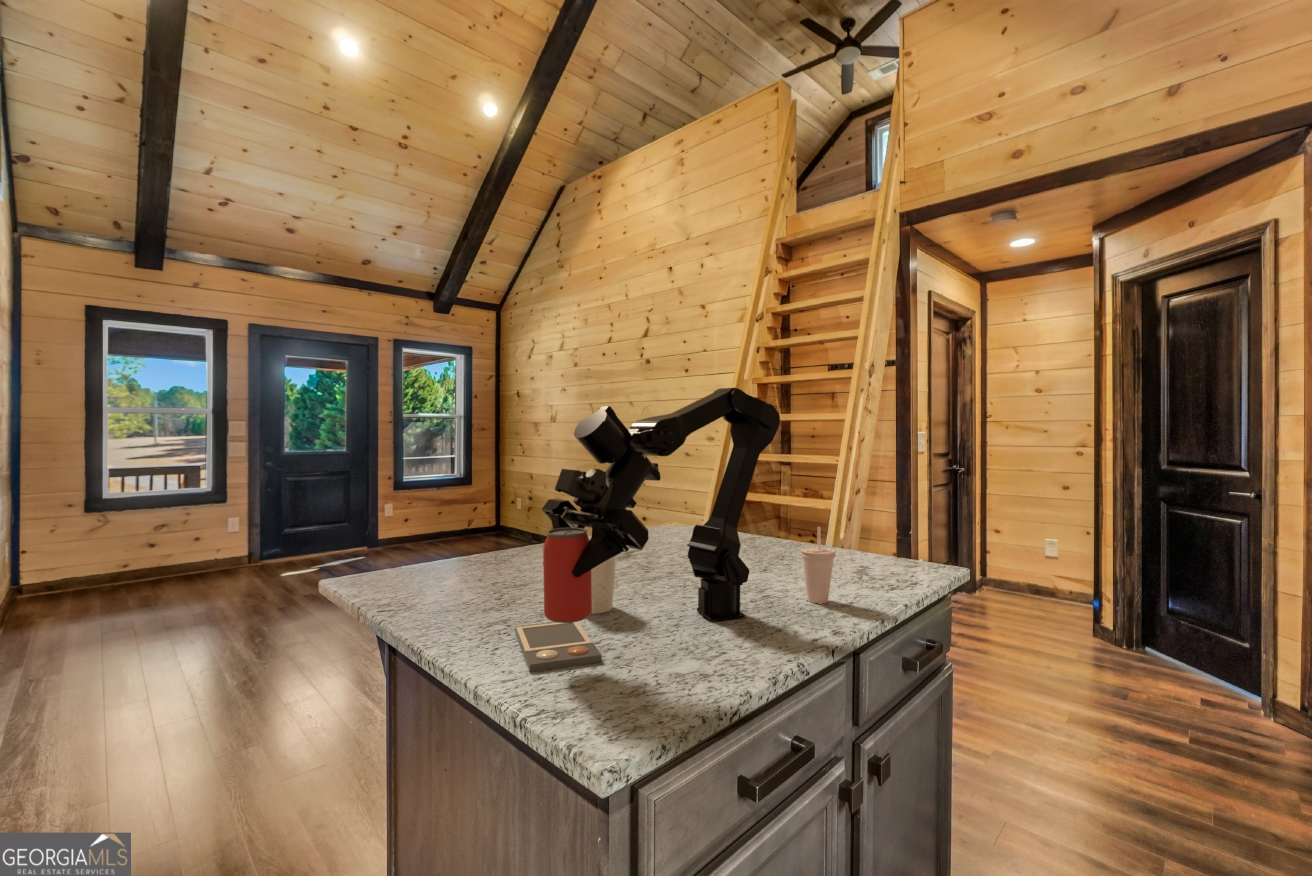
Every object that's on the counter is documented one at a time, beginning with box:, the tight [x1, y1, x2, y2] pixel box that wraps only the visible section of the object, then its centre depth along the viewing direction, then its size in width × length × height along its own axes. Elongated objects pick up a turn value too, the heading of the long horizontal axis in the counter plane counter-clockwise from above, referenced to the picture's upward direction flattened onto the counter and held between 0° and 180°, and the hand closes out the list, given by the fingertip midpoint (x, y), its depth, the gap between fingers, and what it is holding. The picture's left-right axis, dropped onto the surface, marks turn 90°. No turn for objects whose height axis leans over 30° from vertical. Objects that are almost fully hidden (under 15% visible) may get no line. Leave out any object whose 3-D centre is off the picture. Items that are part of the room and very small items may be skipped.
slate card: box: [514, 621, 603, 673], centre depth 89 cm, size 10×16×1 cm, turn 20°
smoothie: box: [800, 526, 837, 605], centre depth 112 cm, size 6×6×14 cm
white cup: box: [590, 555, 617, 615], centre depth 107 cm, size 8×8×10 cm
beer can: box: [542, 528, 592, 623], centre depth 82 cm, size 7×7×12 cm
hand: (559, 571), depth 81 cm, fingers closed on beer can, 7 cm apart
